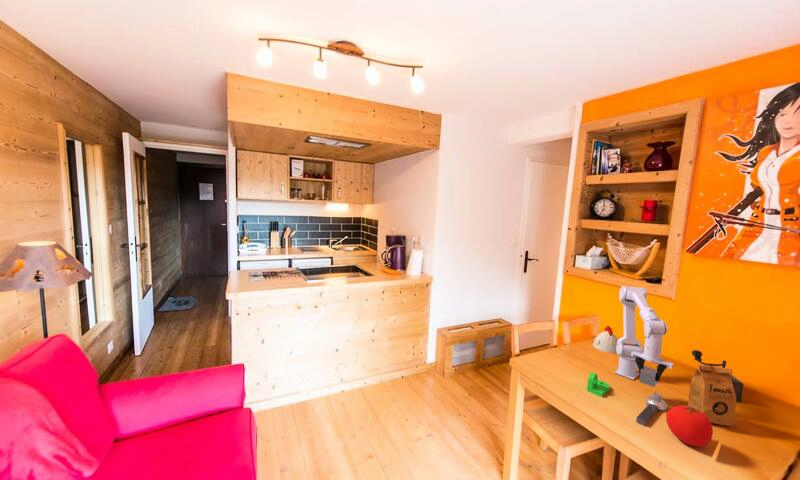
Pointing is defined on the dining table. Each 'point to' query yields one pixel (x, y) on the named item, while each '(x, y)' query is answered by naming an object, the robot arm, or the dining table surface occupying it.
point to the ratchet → (651, 408)
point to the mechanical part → (597, 385)
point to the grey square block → (648, 376)
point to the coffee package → (713, 394)
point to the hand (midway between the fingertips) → (649, 377)
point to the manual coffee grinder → (736, 383)
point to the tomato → (689, 425)
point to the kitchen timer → (606, 341)
